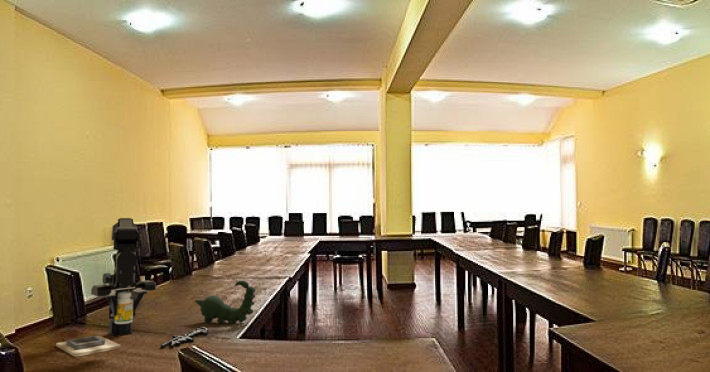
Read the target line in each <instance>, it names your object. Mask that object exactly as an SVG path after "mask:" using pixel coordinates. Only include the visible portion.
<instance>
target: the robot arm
mask: <svg viewBox="0 0 710 372" xmlns="http://www.w3.org/2000/svg"><path fill="white" fill-rule="evenodd" d="M111 229H112V230H111V231H112V233H111V240H112V241H113V250H116V255H115V259H116V260H115V268H114V270H113V274H111V273H109V272H108V273H103V274H102V284H97V285H93V286H92V287H91V290H90V291H91V292H90V294H91V295H93V296H95V297H103V298H105V299H106V300H107V302H108V304H109V306H108V319H109V320H110V321H109V322H108V323H109V325H108V332H107V333H108V334H109V335H111V336H113V335H114V337H118V335H120V336H124V335H123V334H125V335H129V334H128V333H131V334H133V331H131V330H132V328H131V327H132V322H131V323H127V324H116V323H115V316H116V313H117V299H118V293H120V292H131V297H130V298H131V299H133V317H135V316H136V309H137V308H138V306H139V305H140V302H141V300H142V299H143V297H144V295H146V294H147V293H148V292H151V291H156V290H157V283H156V282H155V281H153V280H149V279H148V280H147V279H146V280H138V282H136V281H135V277H136V274H137V269H136V265H137V262H138V258H137V255H136V253H137V252H136V250H140V248H141V247H142V234H141V232H140V230H139V231H138V226H137V224H135V223H134V218H131V217H119V218H118V219H117V222H115V224H113V225H112V227H111Z"/></svg>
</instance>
